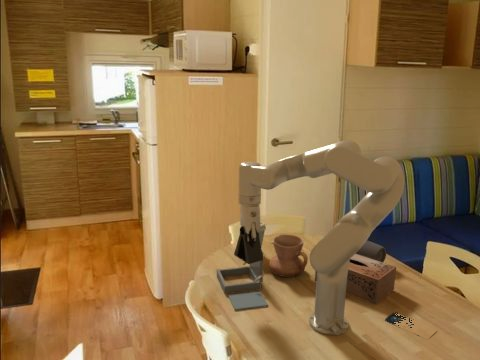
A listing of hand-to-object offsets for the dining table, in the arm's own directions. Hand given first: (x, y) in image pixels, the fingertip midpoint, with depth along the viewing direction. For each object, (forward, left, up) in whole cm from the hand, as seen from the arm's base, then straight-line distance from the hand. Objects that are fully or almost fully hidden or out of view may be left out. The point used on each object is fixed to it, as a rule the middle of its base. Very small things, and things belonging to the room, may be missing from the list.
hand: (248, 248), depth 157 cm
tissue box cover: (+2, -43, -21) cm, 48 cm away
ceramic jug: (+18, -22, -20) cm, 35 cm away
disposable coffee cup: (+38, -13, -20) cm, 45 cm away
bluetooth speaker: (+23, -55, -21) cm, 63 cm away
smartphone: (-27, -48, -21) cm, 59 cm away
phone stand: (0, 0, -4) cm, 4 cm away
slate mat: (0, 0, -20) cm, 20 cm away
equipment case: (+14, 0, -20) cm, 25 cm away
